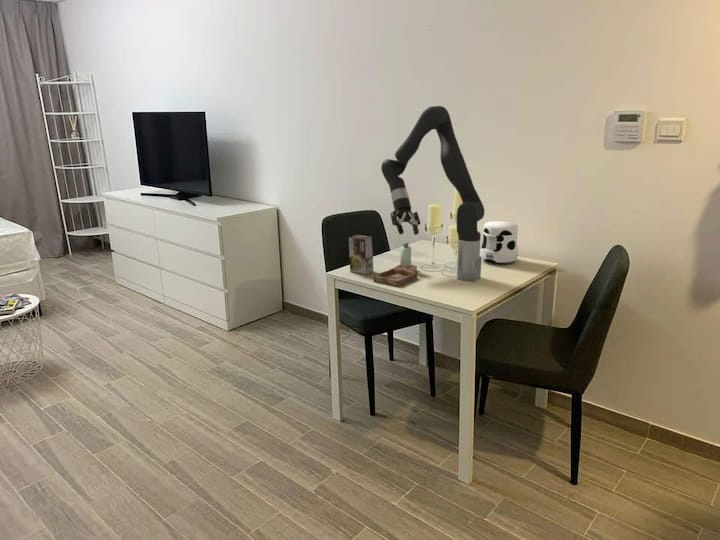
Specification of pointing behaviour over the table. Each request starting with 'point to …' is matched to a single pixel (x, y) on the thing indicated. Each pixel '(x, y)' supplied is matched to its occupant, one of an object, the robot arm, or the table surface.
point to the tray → (395, 277)
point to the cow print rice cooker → (499, 242)
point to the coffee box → (361, 254)
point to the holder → (412, 269)
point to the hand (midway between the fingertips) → (409, 234)
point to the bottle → (405, 256)
